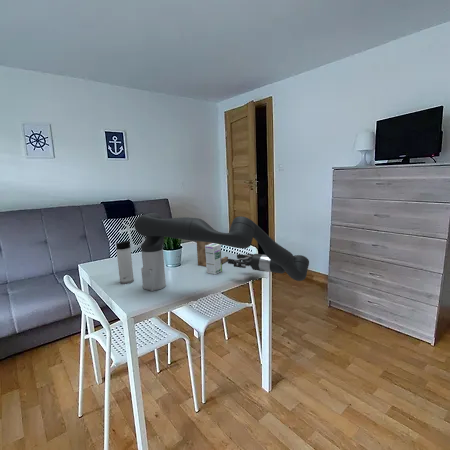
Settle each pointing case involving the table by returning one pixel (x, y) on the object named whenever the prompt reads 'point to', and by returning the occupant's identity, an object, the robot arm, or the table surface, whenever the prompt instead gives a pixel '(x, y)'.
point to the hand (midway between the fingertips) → (232, 258)
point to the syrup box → (213, 258)
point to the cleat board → (202, 255)
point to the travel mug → (125, 262)
